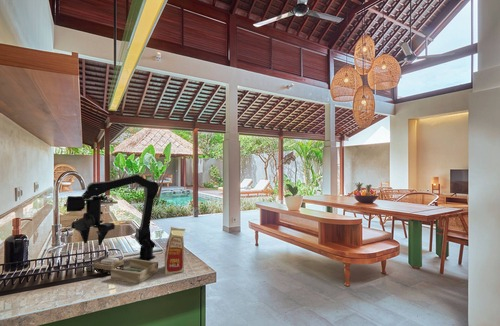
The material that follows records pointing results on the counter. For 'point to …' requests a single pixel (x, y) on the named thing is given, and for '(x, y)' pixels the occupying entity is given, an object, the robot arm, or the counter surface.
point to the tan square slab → (107, 263)
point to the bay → (133, 276)
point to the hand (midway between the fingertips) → (92, 244)
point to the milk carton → (175, 251)
